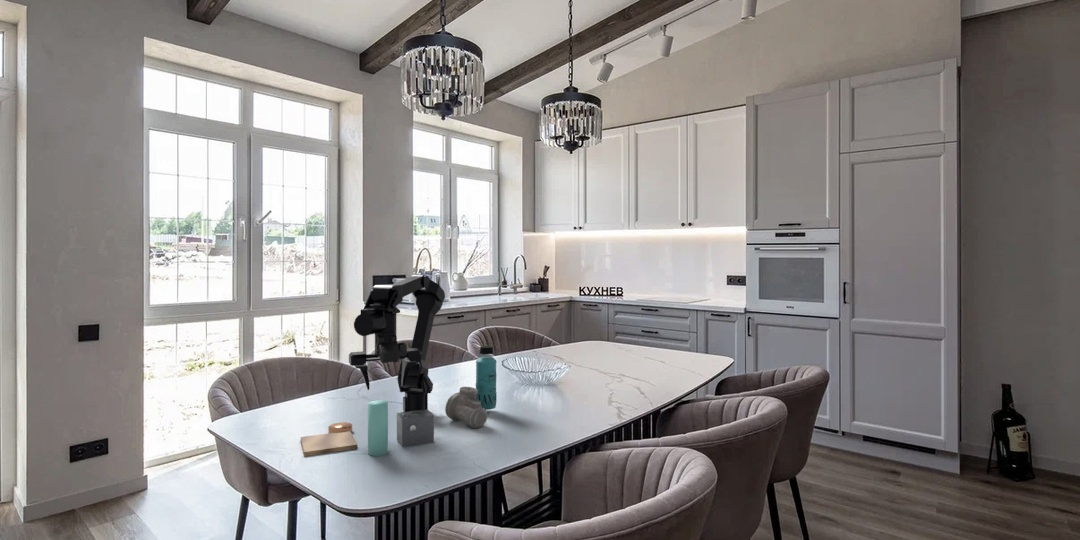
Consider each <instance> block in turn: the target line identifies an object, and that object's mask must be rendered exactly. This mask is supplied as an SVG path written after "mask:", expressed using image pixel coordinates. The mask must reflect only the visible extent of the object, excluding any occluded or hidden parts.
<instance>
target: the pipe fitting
mask: <svg viewBox="0 0 1080 540" xmlns="http://www.w3.org/2000/svg"><path fill="white" fill-rule="evenodd" d="M477 391H478V390H477V389H476V387H475V388H474V387H472V386H461V387H459V391H458V392H456V393H453V394H452V395H451V396H450V397H448V399H447V401H446V404H445V408H444V411H445V415H446V416H447V418H449V419H450V420H452V421H454V422H463V423H465V424H466V425H467V426H469V427H471V428H473V429H480V428H482V427H484V425H485V424H486V423H487V421H488V410H485V409H484V408H483V407H481V402H480V401H479V400H477V399H476V395H477Z"/></svg>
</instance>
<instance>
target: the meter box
mask: <svg viewBox="0 0 1080 540" xmlns="http://www.w3.org/2000/svg"><path fill="white" fill-rule="evenodd" d="M396 441H397V443H398V444H399V445H400V446H401V447H402V448H406V447H413V446H420V445H425V444H426V445H427V444H433V443H435V415H434V414H433V412H431V411H430V410H429V409H425V410H417V411H409V412H404V411H402V412H396Z"/></svg>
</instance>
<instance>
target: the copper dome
mask: <svg viewBox="0 0 1080 540" xmlns="http://www.w3.org/2000/svg"><path fill="white" fill-rule="evenodd" d="M327 427H328V428H327V429H328V431H327V432H328V433H336V432H343V431H350V432H352V433H353V423H351V422H343V421H342V422H336V423H331V424H329V426H327ZM328 433H327V434H328Z"/></svg>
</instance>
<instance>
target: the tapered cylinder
mask: <svg viewBox="0 0 1080 540" xmlns="http://www.w3.org/2000/svg"><path fill="white" fill-rule="evenodd" d="M388 452H389V402H388V401H387V400H381V399H379V400H378V399H376V400H373V401H369V402H368V403H367V454H368V456H370V457H371V456H372V457H380V456H384V455H386V454H388Z"/></svg>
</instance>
